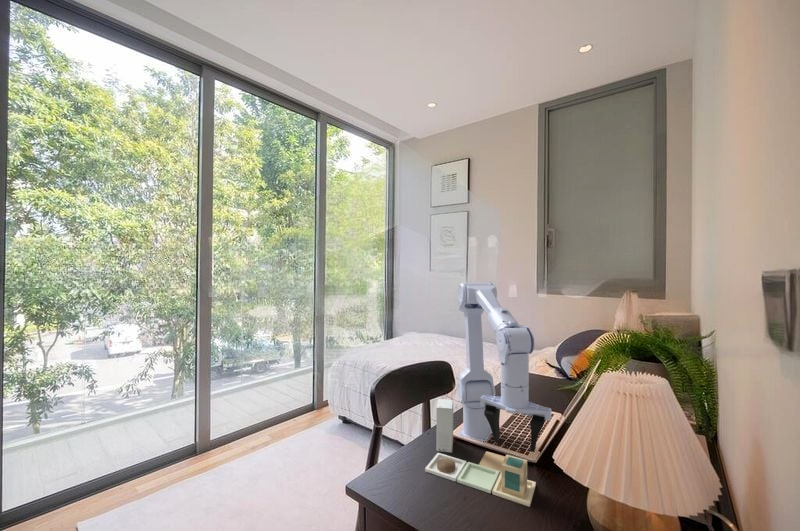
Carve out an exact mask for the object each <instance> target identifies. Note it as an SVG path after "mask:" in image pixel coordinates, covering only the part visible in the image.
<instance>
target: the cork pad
mask: <svg viewBox="0 0 800 531" xmlns="http://www.w3.org/2000/svg"><path fill="white" fill-rule="evenodd" d="M505 456H506V455H505ZM505 456H504V455H501V454H498V453H494V452H490V451H487V450H486V451H485V453H484V454H483V456H482V458H481V460H480V462H479V463H478V465H481V466H484V467H487V468H491V469H494V470H497V471H499V474H500V473H501V471H502V463H503V461H504V458H505Z"/></svg>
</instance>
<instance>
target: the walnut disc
mask: <svg viewBox="0 0 800 531" xmlns="http://www.w3.org/2000/svg"><path fill="white" fill-rule="evenodd" d="M437 469H438V470H439V471H440V472H443V473H452V472H454V471H455V462H454V461H453V460H451V459H448V458H442V459H440V460H438V461H437Z"/></svg>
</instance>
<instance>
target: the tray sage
mask: <svg viewBox="0 0 800 531" xmlns="http://www.w3.org/2000/svg"><path fill="white" fill-rule="evenodd" d="M499 475H500V472H499V471H497V470H494V469H491V468H487V467H484V466H481V465H479V464H477V463H475V462H470V461H468V462H467V464H466V466H465V467H464V469H463V470H462V472H461V474H460V475H459V477H458V478H457V480H456V483H458V484H461V485H464V486H466V487H470V488H473V489H476V490H477V491H478V490H479V491H482V492H484V493H488V494H491V493H492V491H493V488H494V486H495V484H496V482H497V480H498V477H499Z"/></svg>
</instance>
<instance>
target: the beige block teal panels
mask: <svg viewBox="0 0 800 531" xmlns="http://www.w3.org/2000/svg"><path fill="white" fill-rule="evenodd" d="M527 480H528V459H525V458H524V459H523V458H521V457H517V456H514V455H510V454H505V458H504V461H503V463H502V471H501V492H503V493H506V494H509V495H512V496H515V497H518V498H521V499H524V495H525V492H526V489H527Z"/></svg>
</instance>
